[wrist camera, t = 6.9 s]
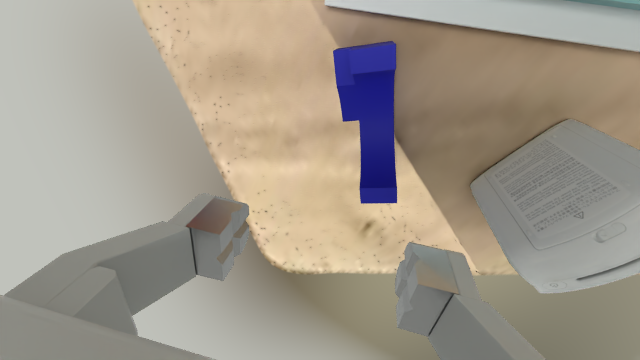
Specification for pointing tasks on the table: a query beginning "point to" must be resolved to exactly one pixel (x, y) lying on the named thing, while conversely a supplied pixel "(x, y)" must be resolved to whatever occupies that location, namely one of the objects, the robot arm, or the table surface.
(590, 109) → the table surface
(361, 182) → the blue curved cradle
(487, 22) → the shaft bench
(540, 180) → the photo printer
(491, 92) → the table surface
